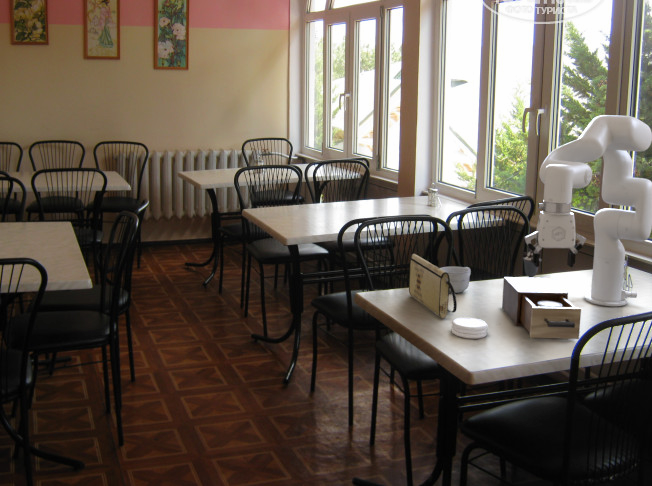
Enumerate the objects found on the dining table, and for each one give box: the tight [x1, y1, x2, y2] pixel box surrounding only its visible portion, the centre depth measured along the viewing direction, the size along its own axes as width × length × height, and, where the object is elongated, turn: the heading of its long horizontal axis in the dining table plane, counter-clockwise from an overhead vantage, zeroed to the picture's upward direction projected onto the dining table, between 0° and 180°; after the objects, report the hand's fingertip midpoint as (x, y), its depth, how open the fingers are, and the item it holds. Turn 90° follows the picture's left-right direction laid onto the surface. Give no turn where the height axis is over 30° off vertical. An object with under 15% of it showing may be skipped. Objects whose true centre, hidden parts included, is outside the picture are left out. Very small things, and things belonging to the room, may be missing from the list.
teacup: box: [439, 266, 472, 294], centre depth 259 cm, size 14×11×8 cm
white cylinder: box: [538, 301, 563, 307], centre depth 214 cm, size 7×7×7 cm
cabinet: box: [501, 276, 569, 327], centre depth 229 cm, size 18×15×11 cm
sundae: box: [521, 250, 543, 278], centre depth 266 cm, size 7×7×15 cm
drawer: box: [519, 295, 582, 340], centre depth 213 cm, size 22×13×9 cm, turn 178°
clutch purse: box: [408, 253, 458, 320], centre depth 239 cm, size 30×7×15 cm, turn 12°
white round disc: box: [451, 316, 488, 340], centre depth 214 cm, size 10×10×4 cm
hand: (553, 266), depth 213 cm, fingers open, 9 cm apart
